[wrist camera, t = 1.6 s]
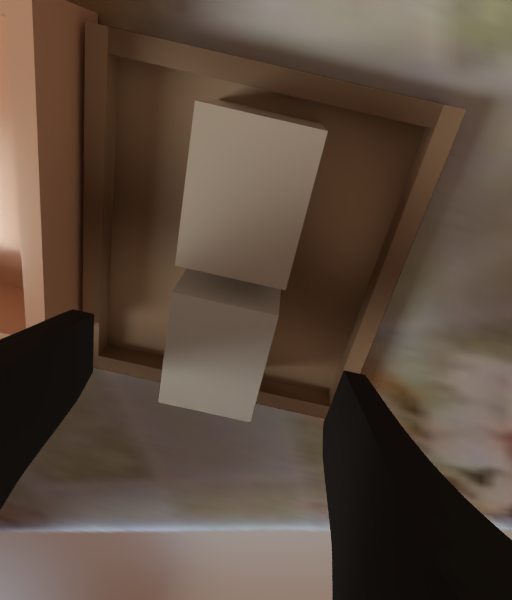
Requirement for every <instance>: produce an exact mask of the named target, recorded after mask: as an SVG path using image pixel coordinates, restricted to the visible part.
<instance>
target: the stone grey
mask: <svg viewBox="0 0 512 600" xmlns="http://www.w3.org/2000/svg"><path fill="white" fill-rule="evenodd" d="M280 295H281V289H277V288H273V287H268V286H264V285H259V284H255V283H251V282H246V281H242V280H237V279H233V278H228V277H224V276H219V275H215V274H211V273H206V272H202V271H197V270H193V269H188V268H186V270H185V272H184V273H183V275H182V276H181V278H180V280H179V281H178V283H177V284H176V286H175V288H174V289H173V291H172V293H171V302H170V310H169V318H168V326H167V334H166V343H165V351H164V359H163V367H162V375H161V384H160V392H159V400H158V402H159V403H164V404H168V405H173V406H177V407H182V408H187V409H191V410H196V411H200V412H205V413H209V414H214V415H218V416H223V417H227V418H232V419H236V420H241V421H246V422H251V418H252V415H253V411H254V407H255V403H256V400H257V396H258V392H259V388H260V385H261V381H262V377H263V373H264V370H265V366H266V362H267V358H268V355H269V351H270V347H271V343H272V340H273V336H274V332H275V328H276V325H277V321H278V317H279V307H280Z"/></svg>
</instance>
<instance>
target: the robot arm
mask: <svg viewBox="0 0 512 600" xmlns="http://www.w3.org/2000/svg"><path fill="white" fill-rule="evenodd" d="M93 346H94V314H92V313H88V312H83V311H79V310H74V309H72V310H69V311H67V312H64V313H61V314H59V315H57V316H54V317H52V318H49V319H47V320H45V321H42V322H40V323H38V324H36V325H33V326H31V327H28V328H26V329H24V330H21V331H19V332H17V333H14V334H12V335H10V336H7V337H5V338H2V339H0V509H1V508H2V506H3V504H4V503H5V501H6V499H7V498H8V496H9V495H10V493H11V491H12V490H13V488H14V486H15V485H16V483H17V482H18V480H19V479H20V477H21V476H22V474H23V473H24V471H25V470H26V468H27V467H28V466H29V464H30V463H31V462H32V460H33V459H34V458H35V456H36V455H37V454H38V452H39V451H40V450H41V448H42V447H43V446H44V444H45V443H46V442H47V440H48V439H49V438H50V436H51V435H52V434H53V432H54V431H55V430H56V428H57V427H58V426H59V424H60V423H61V422H62V420H63V419H64V418H65V416H66V415H67V414H68V412H69V411H70V409H71V408H72V407H73V405H74V404H75V403H76V401H77V399H78V398H79V396H80V394H81V392H82V391H83V389H84V387H85V385H86V383H87V382H88V380H89V378H90V376H91V374H92V372H93ZM323 464H324V474H325V483H326V493H327V502H328V511H329V520H330V530H331V541H332V569H333V570H332V571H333V572H332V573H333V575H332V578H333V579H332V581H333V600H512V540H511V539H510V538H509V537H507V536H506V535H505V534H504V533H503V532H502V531H500V530H499V529H498V528H497V527H496V526H495V525H494V524H493V523H491V522H490V521H489V520H488V519H487V518H486V517H485V516H484V515H483V514H482V513H480V512H479V511H478V510H477V509H476V508H475V507H474V506H473V505H472V504H471V503H470V502H469V501H468V500H467V499H466V498H465V497H464V496H463V495H462V494H461V493H460V492H459V491H458V490H457V489H456V488H455V487H454V486H453V485H452V484H451V483H450V482H449V481H448V480H447V479H446V478H445V477H444V476H443V475H442V474H441V473H440V472H439V470H438V469H437V468H436V467H435V466H434V465H433V464H432V463H431V462H430V460H429V459H428V458H427V457H426V456H425V454H424V453H423V452H422V451H421V450H420V448H419V447H418V446H417V445H416V444H415V442H414V441H413V440H412V439H411V437H410V436H409V435H408V434H407V432H406V431H405V430H404V428H403V427H402V426H401V424H400V423H399V422H398V420H397V419H396V418H395V416H394V415H393V414H392V412H391V411H390V409H389V408H388V407H387V405H386V404H385V402H384V401H383V400H382V398H381V397H380V395H379V394H378V393H377V391H376V390H375V388H374V387H373V385H372V384H371V383H370V381H369V380H368V378H367V377H366V376H365V375H363V374H359V373H354V372H350V371H345V370H344V371H343V373H342V376H341V379H340V381H339V384H338V386H337V389H336V392H335V394H334V397H333V400H332V402H331V405H330V408H329V410H328V413H327V415H326V418H325V421H324V425H323Z"/></svg>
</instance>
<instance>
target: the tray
mask: <svg viewBox="0 0 512 600" xmlns="http://www.w3.org/2000/svg"><path fill="white" fill-rule="evenodd" d="M210 99H221V100H225V101H229V102H234V103H238V104H242V105H247V106H251V107H255V108H260V109H264V110H268V111H273V112H277V113H281V114H286V115H290V116H294V117H299V118H303V119H307V120H312V121H316V122H320V123H322V125H323V126H324V127H325V128H326V129H327V131H328V133H327V137H326V141H325V144H324V148H323V152H322V156H321V159H320V163H319V167H318V171H317V174H316V178H315V182H314V186H313V189H312V193H311V197H310V201H309V204H308V208H307V212H306V216H305V219H304V223H303V227H302V231H301V234H300V238H299V242H298V246H297V249H296V253H295V257H294V261H293V265H292V268H291V272H290V276H289V280H288V283H287V287H286V290H282V289H281V295H280V307H279V317H278V321H277V325H276V328H275V332H274V336H273V340H272V343H271V347H270V351H269V355H268V358H267V362H266V366H265V370H264V373H263V377H262V381H261V385H260V388H259V392H258V396H257V400H256V404H261V405H265V406H270V407H274V408H279V409H283V410H288V411H292V412H297V413H301V414H306V415H311V416H315V417H320V418H324V419H325V418H326V415H327V413H328V410H329V408H330V405H331V402H332V400H333V397H334V394H335V392H336V389H337V386H338V384H339V381H340V379H341V376H342V373H343V371H344V370H345V371H350V372H354V373H359V374H360V373H361V370H362V368H363V365H364V363H365V360H366V358H367V355H368V353H369V350H370V348H371V345H372V343H373V340H374V338H375V335H376V333H377V330H378V328H379V326H380V323H381V321H382V318H383V316H384V313H385V311H386V308H387V306H388V303H389V301H390V298H391V296H392V293H393V291H394V288H395V286H396V283H397V281H398V278H399V276H400V274H401V271H402V269H403V266H404V264H405V261H406V259H407V256H408V254H409V251H410V249H411V246H412V244H413V241H414V239H415V236H416V234H417V231H418V229H419V226H420V224H421V222H422V219H423V217H424V214H425V212H426V209H427V207H428V204H429V202H430V199H431V197H432V194H433V192H434V189H435V187H436V184H437V182H438V179H439V177H440V174H441V172H442V170H443V167H444V165H445V162H446V160H447V157H448V155H449V152H450V150H451V147H452V145H453V142H454V140H455V137H456V135H457V132H458V130H459V127H460V125H461V122H462V120H463V118H464V115H465V113H466V109H462V108H458V107H453V106H449V105H445V104H440V103H436V102H432V101H427V100H423V99H419V98H415V97H410V96H406V95H402V94H397V93H393V92H389V91H384V90H380V89H376V88H371V87H367V86H363V85H359V84H354V83H350V82H346V81H341V80H337V79H333V78H328V77H324V76H320V75H316V74H311V73H307V72H303V71H298V70H294V69H290V68H285V67H281V66H277V65H272V64H268V63H264V62H260V61H255V60H251V59H247V58H242V57H238V56H234V55H229V54H225V53H221V52H217V51H212V50H208V49H204V48H199V47H195V46H191V45H186V44H182V43H178V42H173V41H169V40H165V39H161V38H156V37H152V36H148V35H143V34H139V33H135V32H130V31H126V30H122V29H118V28H113V27H109V26H105V25H100V24H96V23H92V22H87V21H85V89H84V208H83V312H88V313H92V314H94V346H93V368H98V369H102V370H107V371H111V372H116V373H120V374H125V375H129V376H134V377H139V378H143V379H148V380H152V381H157V382H161V375H162V367H163V359H164V351H165V343H166V334H167V326H168V318H169V310H170V302H171V293H172V291H173V289H174V288H175V286H176V284H177V283H178V281H179V280H180V278H181V276H182V275H183V273H184V272H185V270H186V268H184V267H179V266H175V260H176V252H177V244H178V236H179V228H180V219H181V211H182V203H183V195H184V186H185V178H186V170H187V162H188V154H189V145H190V137H191V129H192V121H193V112H194V104H195V100H210Z"/></svg>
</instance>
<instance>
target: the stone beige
mask: <svg viewBox="0 0 512 600" xmlns="http://www.w3.org/2000/svg"><path fill="white" fill-rule="evenodd" d="M327 133H328V131H327V129H326V128H325V127H324V126H323V125H322V123H320V122H316V121H312V120H307V119H303V118H299V117H294V116H290V115H286V114H281V113H277V112H273V111H268V110H264V109H260V108H255V107H251V106H247V105H242V104H238V103H234V102H229V101H225V100H221V99H210V100H195V104H194V112H193V121H192V129H191V137H190V145H189V154H188V162H187V170H186V178H185V186H184V195H183V203H182V211H181V219H180V228H179V236H178V244H177V252H176V260H175V266H179V267H184V268H188V269H193V270H197V271H202V272H206V273H211V274H215V275H219V276H224V277H228V278H233V279H237V280H242V281H246V282H251V283H255V284H259V285H264V286H268V287H273V288H277V289H282V290H286V287H287V283H288V280H289V276H290V272H291V268H292V265H293V261H294V257H295V253H296V249H297V246H298V242H299V238H300V234H301V231H302V227H303V223H304V219H305V216H306V212H307V208H308V204H309V201H310V197H311V193H312V189H313V186H314V182H315V178H316V174H317V171H318V167H319V163H320V159H321V156H322V152H323V148H324V144H325V141H326V137H327Z"/></svg>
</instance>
